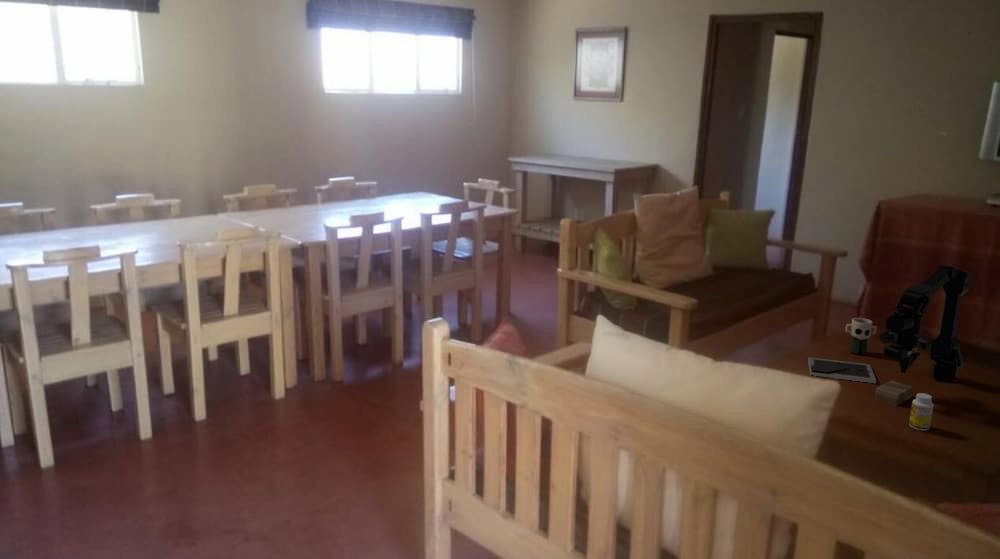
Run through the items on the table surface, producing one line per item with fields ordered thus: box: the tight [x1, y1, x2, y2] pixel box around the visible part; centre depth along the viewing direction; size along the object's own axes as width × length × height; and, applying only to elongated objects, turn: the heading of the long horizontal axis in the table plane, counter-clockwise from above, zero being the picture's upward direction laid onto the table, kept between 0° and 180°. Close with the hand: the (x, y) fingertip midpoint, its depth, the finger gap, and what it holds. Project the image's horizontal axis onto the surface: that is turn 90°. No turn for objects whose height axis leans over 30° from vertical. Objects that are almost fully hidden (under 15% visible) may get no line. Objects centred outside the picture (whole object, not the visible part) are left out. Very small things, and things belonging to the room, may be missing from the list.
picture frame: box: [807, 356, 877, 385], centre depth 264 cm, size 16×3×21 cm
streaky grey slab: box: [873, 379, 914, 406], centre depth 242 cm, size 4×7×11 cm
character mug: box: [845, 317, 878, 355], centre depth 282 cm, size 11×7×13 cm, turn 79°
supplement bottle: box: [908, 392, 935, 431], centre depth 220 cm, size 6×6×10 cm
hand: (903, 372), depth 242 cm, fingers closed
